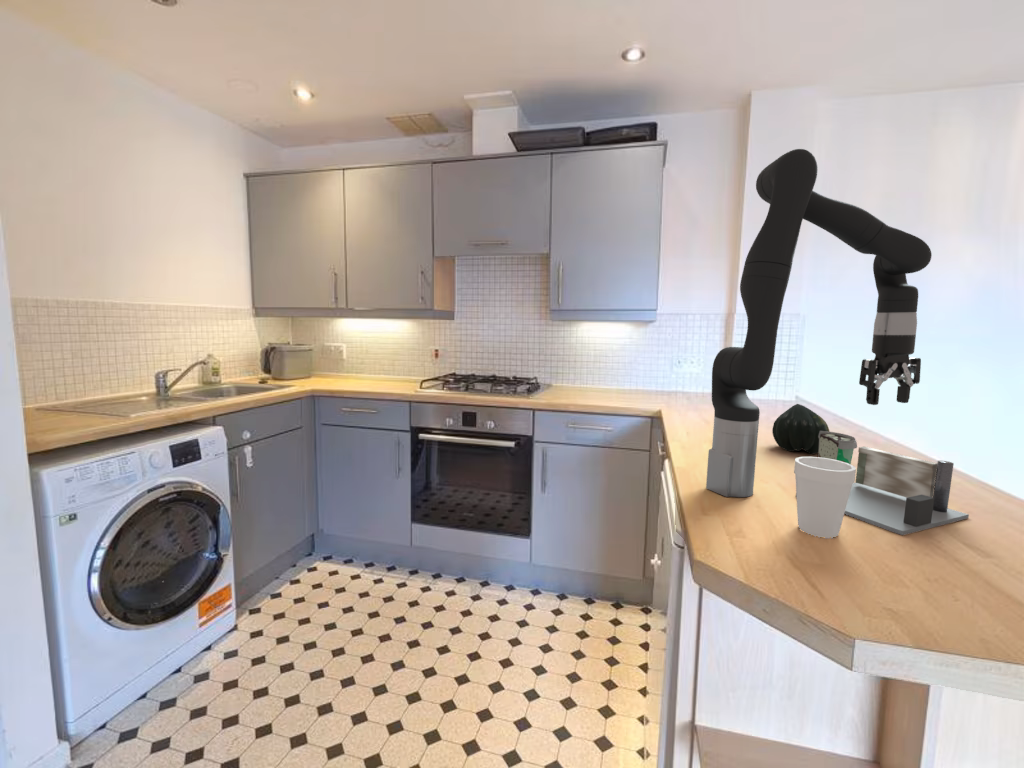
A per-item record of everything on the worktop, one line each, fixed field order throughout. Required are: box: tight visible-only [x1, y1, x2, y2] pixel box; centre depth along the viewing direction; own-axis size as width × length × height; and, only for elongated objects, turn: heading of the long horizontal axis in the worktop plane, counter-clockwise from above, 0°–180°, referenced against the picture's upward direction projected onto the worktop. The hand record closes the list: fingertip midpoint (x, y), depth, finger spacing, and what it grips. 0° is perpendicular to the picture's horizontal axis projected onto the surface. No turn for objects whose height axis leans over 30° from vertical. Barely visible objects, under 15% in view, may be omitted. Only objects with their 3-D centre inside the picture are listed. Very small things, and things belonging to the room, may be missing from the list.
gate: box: [855, 446, 938, 498], centre depth 104 cm, size 14×2×9 cm, turn 22°
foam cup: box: [793, 456, 857, 539], centre depth 87 cm, size 10×9×13 cm
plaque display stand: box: [844, 460, 970, 536], centre depth 100 cm, size 22×21×11 cm
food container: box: [817, 431, 858, 465], centre depth 123 cm, size 12×6×10 cm, turn 168°
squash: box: [771, 403, 831, 455], centre depth 146 cm, size 14×15×15 cm
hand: (887, 403), depth 108 cm, fingers open, 8 cm apart
